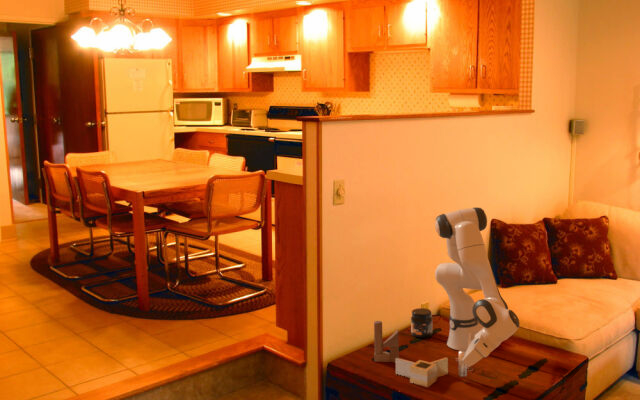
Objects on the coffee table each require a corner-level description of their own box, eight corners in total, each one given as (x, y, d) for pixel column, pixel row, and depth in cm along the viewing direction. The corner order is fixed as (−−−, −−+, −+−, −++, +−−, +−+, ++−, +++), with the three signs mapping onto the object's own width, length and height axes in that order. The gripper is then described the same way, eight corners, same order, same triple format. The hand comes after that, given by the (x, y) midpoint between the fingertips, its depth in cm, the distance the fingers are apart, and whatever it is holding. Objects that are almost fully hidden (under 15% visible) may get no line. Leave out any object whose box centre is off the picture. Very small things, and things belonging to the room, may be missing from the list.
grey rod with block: (398, 362, 275) (397, 323, 273) (374, 362, 277) (373, 323, 274) (398, 359, 279) (398, 321, 276) (374, 358, 281) (373, 320, 278)
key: (451, 359, 279) (461, 373, 264) (451, 357, 279) (461, 371, 264) (464, 357, 279) (474, 371, 264) (464, 355, 279) (474, 369, 264)
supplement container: (406, 334, 308) (406, 311, 307) (421, 329, 315) (421, 306, 313) (421, 340, 300) (421, 316, 298) (437, 335, 306) (437, 311, 304)
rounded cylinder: (463, 372, 257) (463, 349, 255) (468, 375, 254) (468, 352, 252) (457, 374, 256) (456, 351, 254) (461, 377, 253) (461, 354, 251)
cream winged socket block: (448, 373, 263) (448, 357, 262) (429, 388, 250) (429, 371, 249) (411, 363, 274) (410, 348, 273) (391, 377, 262) (391, 361, 260)
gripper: (483, 325, 259) (460, 345, 264) (475, 345, 240) (450, 365, 246) (494, 337, 258) (471, 356, 263) (487, 357, 239) (462, 377, 245)
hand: (461, 361), depth 254 cm, fingers closed on rounded cylinder, 3 cm apart
